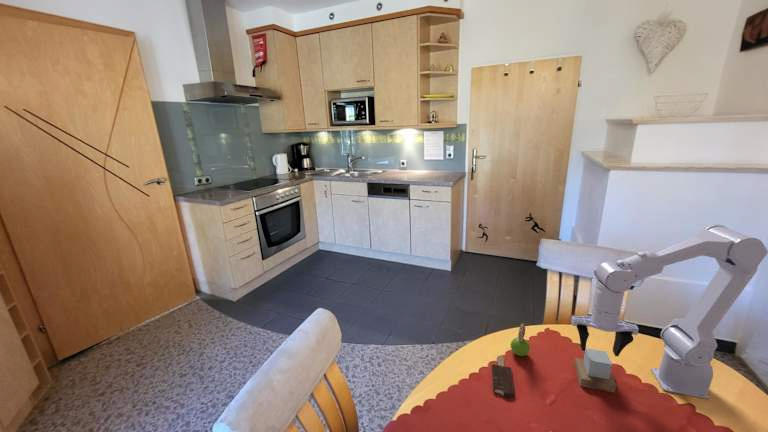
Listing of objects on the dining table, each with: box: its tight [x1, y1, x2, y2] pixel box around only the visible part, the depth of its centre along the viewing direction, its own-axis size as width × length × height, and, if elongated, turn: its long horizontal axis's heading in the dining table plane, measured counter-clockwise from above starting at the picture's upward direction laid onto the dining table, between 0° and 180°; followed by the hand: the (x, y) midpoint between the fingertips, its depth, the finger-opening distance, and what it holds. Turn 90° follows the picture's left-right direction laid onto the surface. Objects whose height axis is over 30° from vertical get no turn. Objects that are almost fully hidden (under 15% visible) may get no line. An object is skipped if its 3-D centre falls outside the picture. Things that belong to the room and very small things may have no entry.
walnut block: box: [573, 357, 617, 394], centre depth 89 cm, size 8×8×3 cm
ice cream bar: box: [491, 355, 515, 399], centre depth 91 cm, size 5×2×15 cm
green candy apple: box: [510, 323, 531, 357], centre depth 97 cm, size 5×6×12 cm
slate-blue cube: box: [583, 347, 613, 379], centre depth 88 cm, size 5×5×5 cm
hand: (598, 351), depth 87 cm, fingers open, 7 cm apart
